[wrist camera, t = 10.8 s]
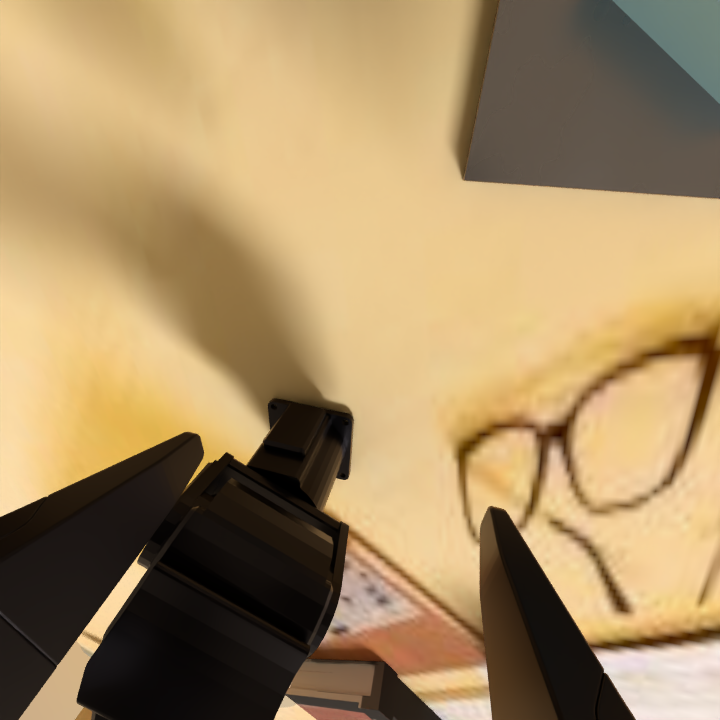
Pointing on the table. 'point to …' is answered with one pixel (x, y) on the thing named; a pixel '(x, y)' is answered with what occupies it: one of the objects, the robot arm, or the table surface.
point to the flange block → (683, 34)
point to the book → (355, 692)
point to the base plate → (590, 106)
